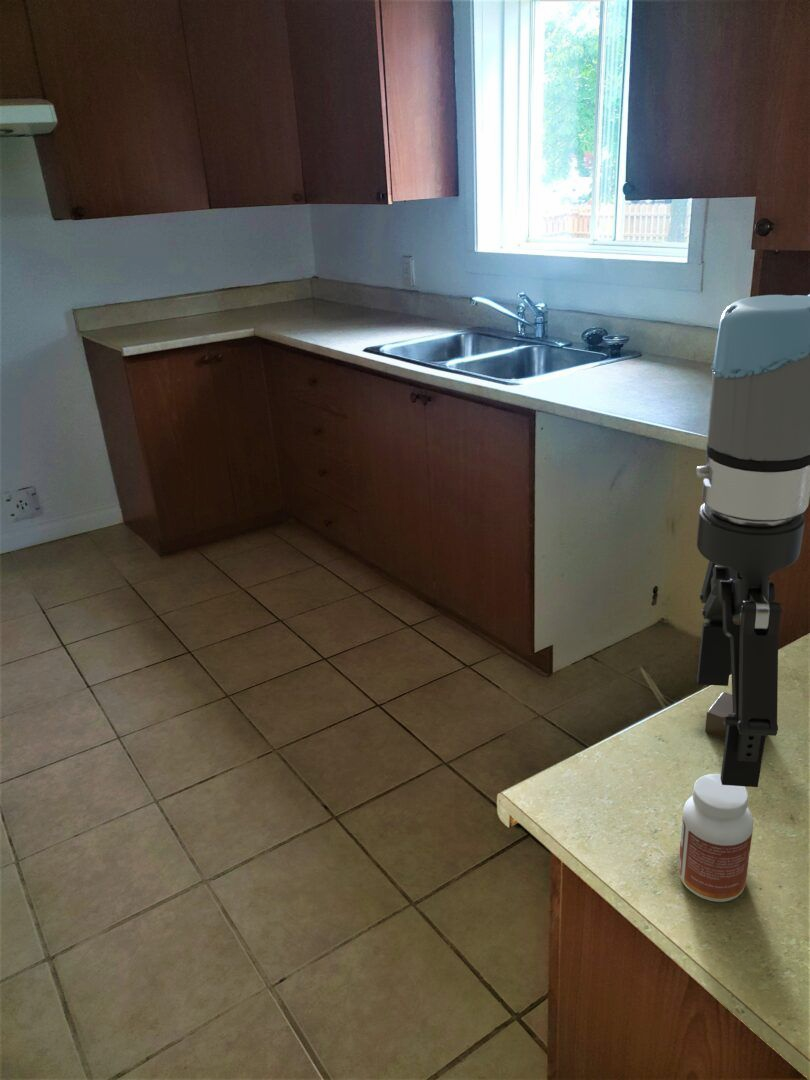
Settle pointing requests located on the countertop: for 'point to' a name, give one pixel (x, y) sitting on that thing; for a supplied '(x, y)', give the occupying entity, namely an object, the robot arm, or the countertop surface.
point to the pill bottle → (715, 840)
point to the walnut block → (719, 715)
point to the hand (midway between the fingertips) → (724, 729)
